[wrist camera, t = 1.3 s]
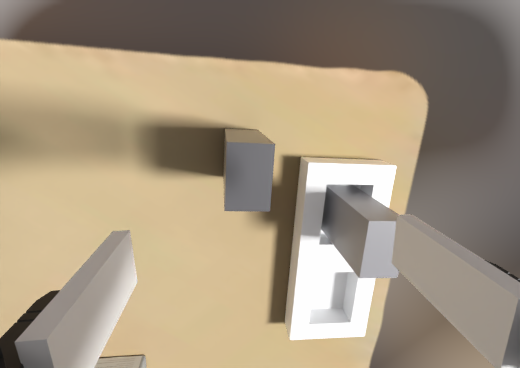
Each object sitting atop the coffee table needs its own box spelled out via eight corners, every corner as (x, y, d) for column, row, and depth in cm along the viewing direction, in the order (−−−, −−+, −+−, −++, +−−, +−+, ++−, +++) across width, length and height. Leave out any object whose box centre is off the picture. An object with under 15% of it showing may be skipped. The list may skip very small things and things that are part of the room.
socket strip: (284, 321, 45) (307, 403, 33) (300, 156, 38) (337, 183, 26) (354, 319, 46) (400, 396, 34) (381, 160, 39) (451, 186, 27)
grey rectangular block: (223, 176, 37) (224, 211, 26) (224, 128, 36) (226, 141, 24) (255, 177, 38) (269, 211, 26) (257, 129, 36) (275, 144, 25)
